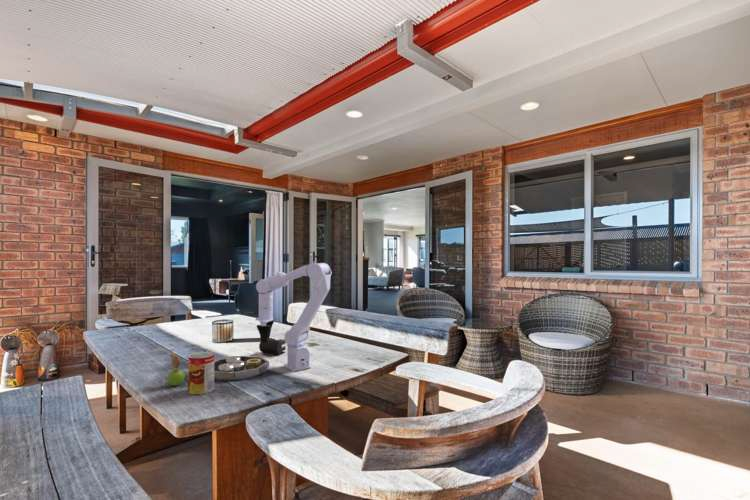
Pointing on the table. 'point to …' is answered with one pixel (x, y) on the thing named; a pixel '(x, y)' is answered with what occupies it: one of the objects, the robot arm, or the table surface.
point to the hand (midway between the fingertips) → (265, 340)
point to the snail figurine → (175, 371)
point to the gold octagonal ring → (253, 363)
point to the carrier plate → (237, 368)
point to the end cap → (273, 346)
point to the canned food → (201, 372)
